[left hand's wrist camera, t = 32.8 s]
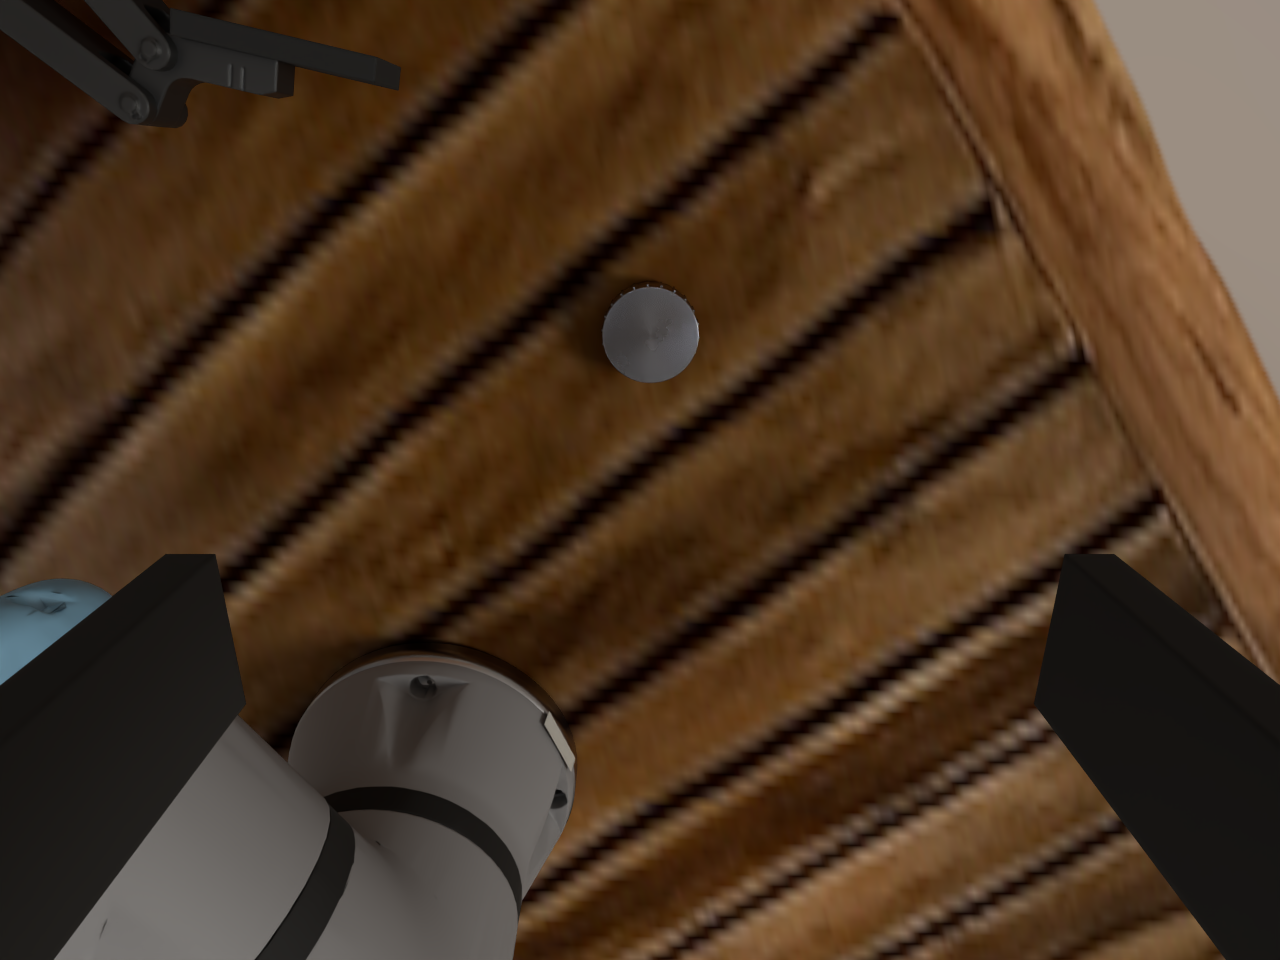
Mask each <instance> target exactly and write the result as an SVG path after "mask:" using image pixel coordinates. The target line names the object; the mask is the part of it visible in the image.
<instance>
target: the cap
mask: <svg viewBox="0 0 1280 960" xmlns="http://www.w3.org/2000/svg"><path fill="white" fill-rule="evenodd" d="M694 312H695V311H694V308H693V306H691V305H690V303H689V302H688V301H687V299H686V296H685V295H682V294H681V293H680V292H679V291H677V290H676V289H675V287H674V286H673V288H672V287H671V286H668V285H666V284H662V282H660V283H658V282H649V281H647V282H644V283H639V284H635V283H634V284H633V286H631V287H629V288H627V289H625V290H624V291H623V290H621V293H620V294H619V295H618V296H617V297H616V298H615V299H614V300H612V302H611V305H610V307H609V309H608V311H606V313H605V316H604V318H605V321H604V325H603V326H602V331H603V333H602V336H603V345H604V349H605V352H606V354H607V357H608V358H609V360H610V362H611V363H612V364H613V366H614V367H615V368H616V369H617V370H618V371H619V372H620V373H622V374H623V375H625V376H626V377H628V378H630V379H633V380H635V381H639V382H644V383H657V382H662V381H665V380H668V379H671V378H673V377H674V376H676V375H678V374H679V373H680V372H682V371H683V370H684V369H685V368H686V367H687V366H688V364H689V363H690V362H691V360H692V358H693V357H694V354H695V352H696V349H697V346H698V339H699V330H698V325H699V323H698V320H697V319H696V317H695V314H694Z"/></svg>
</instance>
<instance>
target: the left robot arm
mask: <svg viewBox="0 0 1280 960" xmlns="http://www.w3.org/2000/svg"><path fill="white" fill-rule="evenodd" d="M245 704H246V701H245V696H244V692H243V687H242V682H241V677H240V672H239V667H238V662H237V658H236V653H235V648H234V643H233V638H232V633H231V628H230V623H229V619H228V614H227V609H226V604H225V599H224V594H223V589H222V585H221V580H220V575H219V570H218V565H217V560H216V555H215V554H165V555H164V556H163V557H161V558H160V559H159V560H158V561H156V562H155V563H154V564H153V565H151V566H150V567H149V568H148V569H146V570H145V571H144V572H143V573H141V574H140V575H139V576H137V577H136V578H135V579H134V580H132V581H131V582H130V583H129V584H127V585H126V586H125V587H124V588H122V589H121V590H120V591H119V592H117V593H116V594H115V595H113V596H111V595H110V594H109V593H107V592H106V591H105V590H103V589H102V588H100V587H97V586H95V585H93V584H91V583H88V582H84V581H80V580H75V579H50V580H43V581H39V582H36V583H32V584H29V585H26V586H23V587H20V588H18V589H15V590H13V591H11V592H8V593H6V594H4V595H2V596H0V960H513V954H514V947H515V941H516V934H517V927H518V921H519V915H520V909H521V903H522V900H523V898H524V896H525V895H526V893H527V891H528V890H529V888H530V886H531V884H532V883H533V881H534V879H535V878H536V876H537V874H538V873H539V871H540V869H541V868H542V866H543V864H544V862H545V861H546V859H547V857H548V856H549V854H550V852H551V851H552V849H553V847H554V846H555V844H556V842H557V840H558V839H559V837H560V835H561V833H562V831H563V829H564V827H565V825H566V823H567V821H568V818H569V815H570V812H571V809H572V805H573V800H574V793H575V784H576V775H577V754H576V748H575V743H574V740H573V736H572V733H571V731H570V728H569V726H568V723H567V721H566V719H565V718H564V716H563V714H562V712H561V711H560V709H559V708H558V706H557V705H556V703H555V702H554V701H553V700H552V698H551V697H550V696H549V695H548V694H547V693H546V692H545V691H544V690H543V689H542V688H541V687H540V686H539V685H538V684H537V683H536V682H535V681H533V680H532V679H531V678H530V677H529V676H527V675H526V674H524V673H523V672H521V671H520V670H519V669H517V668H516V667H514V666H512V665H510V664H508V663H507V662H505V661H503V660H501V659H498V658H496V657H494V656H492V655H489V654H486V653H483V652H481V651H478V650H474V649H470V648H467V647H463V646H457V645H451V644H443V643H409V644H402V645H396V646H391V647H387V648H383V649H379V650H376V651H374V652H371V653H368V654H366V655H364V656H362V657H360V658H357V659H355V660H354V661H352V662H350V663H349V664H347V665H346V666H344V667H343V668H341V669H340V670H339V671H337V672H336V673H335V674H334V675H333V676H332V677H331V678H330V679H329V680H328V681H327V682H326V683H325V684H324V685H323V686H322V687H321V689H320V690H319V691H318V693H317V694H316V696H315V697H314V699H313V701H312V702H311V704H310V705H309V707H308V708H307V710H306V712H305V713H304V715H303V716H302V718H301V719H300V722H299V724H298V726H297V728H296V730H295V733H294V736H293V739H292V744H291V748H290V752H289V758H288V763H287V762H286V761H285V760H284V759H283V758H282V757H281V756H280V755H279V754H278V753H277V752H276V751H275V750H274V749H273V748H272V747H271V746H270V745H269V744H268V743H266V742H265V741H264V740H263V739H262V738H261V737H260V736H259V735H258V734H257V733H256V732H255V731H254V730H253V729H252V728H251V727H250V726H249V725H248V724H247V723H246V722H245V721H244V720H243V719H242V718H241V717H239V716H238V714H239V712H240V711H241V710H242V708H243V707H244V706H245ZM1034 704H1035V706H1036V707H1037V708H1038V710H1039V711H1040V712H1041V714H1042V715H1043V716H1044V718H1045V719H1046V720H1047V722H1048V723H1049V724H1050V726H1051V727H1052V728H1053V730H1054V731H1055V732H1056V734H1057V735H1058V736H1059V738H1060V739H1061V740H1062V742H1063V743H1064V744H1065V746H1066V747H1067V748H1068V750H1069V751H1070V752H1071V754H1072V755H1073V756H1074V758H1075V759H1076V760H1077V762H1078V763H1079V764H1080V766H1081V767H1082V768H1083V770H1084V771H1085V772H1086V774H1087V775H1088V776H1089V778H1090V779H1091V780H1092V782H1093V783H1094V784H1095V786H1096V787H1097V788H1098V790H1099V791H1100V792H1101V794H1102V795H1103V796H1104V798H1105V799H1106V800H1107V802H1108V803H1109V804H1110V806H1111V807H1112V808H1113V810H1114V811H1115V812H1116V814H1117V815H1118V816H1119V818H1120V819H1121V820H1122V822H1123V823H1124V824H1125V826H1126V827H1127V828H1128V830H1129V831H1130V832H1131V834H1132V835H1133V836H1134V838H1135V839H1136V840H1137V842H1138V843H1139V844H1140V846H1141V847H1142V848H1143V850H1144V851H1145V852H1146V854H1147V855H1148V856H1149V858H1150V859H1151V860H1152V862H1153V863H1154V864H1155V866H1156V867H1157V868H1158V870H1159V871H1160V872H1161V874H1162V875H1163V876H1164V878H1165V879H1166V880H1167V882H1168V883H1169V884H1170V886H1171V887H1172V888H1173V890H1174V891H1175V892H1176V894H1177V895H1178V896H1179V898H1180V899H1181V900H1182V902H1183V903H1184V904H1185V906H1186V907H1187V908H1188V910H1189V911H1190V912H1191V914H1192V915H1193V916H1194V918H1195V919H1196V920H1197V922H1198V923H1199V924H1200V926H1201V927H1202V928H1203V930H1204V931H1205V932H1206V934H1207V935H1208V936H1209V938H1210V939H1211V940H1212V942H1213V943H1214V944H1215V946H1216V947H1217V948H1218V950H1219V951H1220V952H1221V954H1222V955H1223V956H1224V958H1225V959H1226V960H1280V685H1279V684H1278V683H1276V682H1275V681H1274V680H1273V679H1271V678H1270V677H1269V676H1268V675H1266V674H1265V673H1264V672H1262V671H1261V670H1260V669H1259V668H1257V667H1256V666H1255V665H1254V664H1252V663H1251V662H1250V661H1249V660H1247V659H1246V658H1245V657H1244V656H1242V655H1241V654H1240V653H1239V652H1237V651H1236V650H1235V649H1233V648H1232V647H1231V646H1230V645H1228V644H1227V643H1226V642H1225V641H1223V640H1222V639H1221V638H1220V637H1218V636H1217V635H1216V634H1215V633H1213V632H1212V631H1211V630H1209V629H1208V628H1207V627H1206V626H1204V625H1203V624H1202V623H1201V622H1199V621H1198V620H1197V619H1196V618H1194V617H1193V616H1192V615H1191V614H1189V613H1188V612H1187V611H1185V610H1184V609H1183V608H1182V607H1180V606H1179V605H1178V604H1177V603H1175V602H1174V601H1173V600H1172V599H1170V598H1169V597H1168V596H1167V595H1165V594H1164V593H1163V592H1161V591H1160V590H1159V589H1158V588H1156V587H1155V586H1154V585H1153V584H1151V583H1150V582H1149V581H1148V580H1146V579H1145V578H1144V577H1143V576H1141V575H1140V574H1139V573H1137V572H1136V571H1135V570H1134V569H1132V568H1131V567H1130V566H1129V565H1127V564H1126V563H1125V562H1124V561H1122V560H1121V559H1120V558H1119V557H1117V556H1116V555H1115V554H1065V555H1064V560H1063V565H1062V570H1061V575H1060V580H1059V585H1058V589H1057V594H1056V599H1055V604H1054V609H1053V614H1052V619H1051V623H1050V628H1049V633H1048V638H1047V643H1046V648H1045V653H1044V658H1043V662H1042V667H1041V672H1040V677H1039V682H1038V687H1037V692H1036V696H1035V701H1034Z"/></svg>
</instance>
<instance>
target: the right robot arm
mask: <svg viewBox="0 0 1280 960" xmlns="http://www.w3.org/2000/svg"><path fill="white" fill-rule="evenodd" d="M84 1H85V2H86V3H87V4H88V5H89V6H90V7H91V9H92V10H93V11H94V12H95V13H96V14H97V15H98V17H99V18H100V19H101V20H102V21H103V22H104V23H105V24H106V26H107V27H108V28H109V29H110V30H111V31H112V32H113V33H114V35H115V36H116V37H117V38H118V39H119V40H120V41H121V43H122V44H123V45H124V46H125V47H126V48H127V49H128V50H129V52H130V53H131V54H132V55H133V56H134V57H135V61H133V60H132V59H130V58H129V57H128V56H126V55H125V54H124V53H123V52H121V51H120V50H119V49H117V48H116V47H115V46H113V45H112V44H111V43H109V42H108V41H107V40H105V39H104V38H103V37H102V36H100V35H99V34H98V33H96V32H95V31H94V30H92V29H91V28H90V27H88V26H87V25H86V24H84V23H83V22H82V21H81V20H79V19H78V18H77V17H75V16H74V15H73V14H71V13H70V12H69V11H67V10H66V9H65V8H63V7H62V6H61V5H60V4H58V3H57V2H56V1H54V0H0V30H2V31H3V32H4V33H6V34H7V35H8V36H10V37H11V38H12V39H14V40H15V41H17V42H18V43H19V44H21V45H22V46H23V47H25V48H26V49H27V50H29V51H30V52H31V53H33V54H34V55H35V56H37V57H38V58H39V59H41V60H42V61H43V62H45V63H46V64H48V65H49V66H50V67H52V68H53V69H54V70H56V71H57V72H58V73H60V74H61V75H62V76H64V77H65V78H66V79H68V80H69V81H70V82H72V83H73V84H74V85H76V86H77V87H79V88H80V89H81V90H83V91H84V92H85V93H87V94H88V95H89V96H91V97H92V98H93V99H95V100H96V101H97V102H99V103H100V104H101V105H103V106H104V107H105V108H107V109H108V110H110V111H111V112H112V113H114V114H115V115H116V116H118V117H119V118H120V119H122V120H123V121H125V122H127V123H129V124H139V125H146V126H156V127H170V128H178V127H180V126H182V125H183V124H184V123H185V122H186V120H187V116H188V111H187V106H186V104H185V103H186V100H187V97H188V95H189V93H190V91H191V89H192V88H193V87H194V86H196V85H198V84H200V83H204V82H207V83H212V84H216V85H220V86H225V87H229V88H233V89H237V90H242V91H246V92H250V93H255V94H259V95H264V96H269V97H273V98H278V99H279V98H284V97H289V96H293V92H294V75H295V66H296V67H300V68H305V69H309V70H313V71H317V72H322V73H326V74H330V75H334V76H339V77H343V78H347V79H351V80H356V81H360V82H364V83H368V84H373V85H377V86H381V87H385V88H390V89H394V90H399V80H400V70H401V67H399V66H396V65H394V64H392V63H389V62H387V61H385V60H382V59H380V58H378V57H374V56H370V55H366V54H362V53H357V52H353V51H349V50H345V49H341V48H336V47H332V46H328V45H324V44H320V43H315V42H311V41H307V40H303V39H299V38H294V37H290V36H286V35H282V34H278V33H273V32H269V31H265V30H261V29H257V28H252V27H248V26H244V25H240V24H236V23H231V22H227V21H223V20H219V19H214V18H210V17H206V16H202V15H198V14H193V13H189V12H185V11H181V10H177V9H172V8H170V9H169V8H168V7H167V6H166V5H165V3H164V2H163V1H162V0H84Z"/></svg>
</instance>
